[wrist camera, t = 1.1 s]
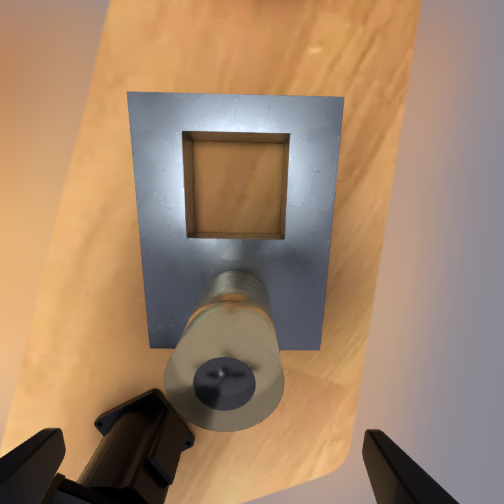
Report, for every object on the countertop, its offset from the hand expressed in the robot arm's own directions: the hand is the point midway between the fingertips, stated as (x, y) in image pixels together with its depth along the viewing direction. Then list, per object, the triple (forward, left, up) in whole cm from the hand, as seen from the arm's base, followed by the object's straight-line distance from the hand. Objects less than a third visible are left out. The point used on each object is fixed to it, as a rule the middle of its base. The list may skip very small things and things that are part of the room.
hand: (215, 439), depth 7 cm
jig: (+2, +4, -12) cm, 12 cm away
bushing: (0, 0, -9) cm, 9 cm away
